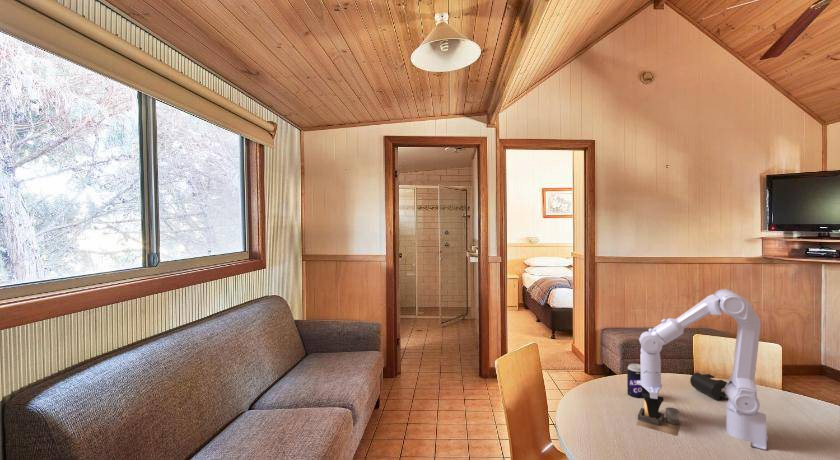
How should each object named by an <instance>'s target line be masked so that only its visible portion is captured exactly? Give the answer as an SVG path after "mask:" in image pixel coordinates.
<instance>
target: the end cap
mask: <svg viewBox="0 0 840 460" xmlns="http://www.w3.org/2000/svg"><path fill="white" fill-rule="evenodd" d="M689 382H690V383H689V384H690V385H691V387H692V388H694V389H696V390H697V391H699V392H700V393H702V394H704V395H705V396H708V397H710V398H712V399H713V400H715V401H718V402H719V401H728V400H729V398H728V397H727V395H726V394H725V391H722V390H724V388H725V386H726V384H727V383H728V382H727V381H724V380H723V379H715V375H711V374H710V373H705V374H702V373H700V372H694V373H693V374H692V375H691V376H690V379H689Z"/></svg>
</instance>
